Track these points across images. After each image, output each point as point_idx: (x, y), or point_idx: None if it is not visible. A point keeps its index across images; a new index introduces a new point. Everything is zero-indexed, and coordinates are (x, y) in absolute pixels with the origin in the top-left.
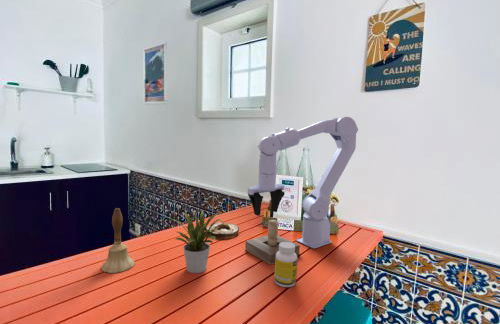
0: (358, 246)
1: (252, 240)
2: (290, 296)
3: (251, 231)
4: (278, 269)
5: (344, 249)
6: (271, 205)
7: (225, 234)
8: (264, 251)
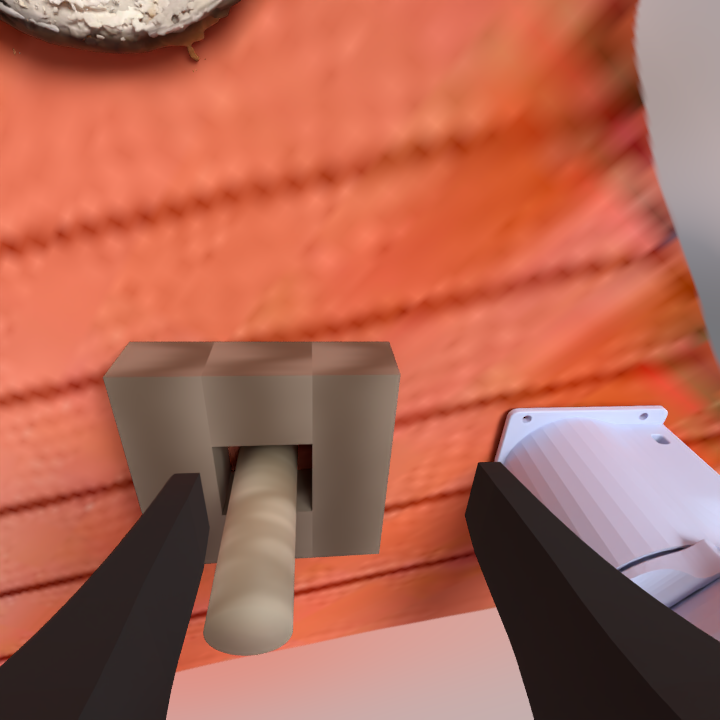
0: None
1: (161, 396)
2: None
3: (419, 29)
4: None
5: None
6: (512, 511)
7: (20, 21)
8: None
